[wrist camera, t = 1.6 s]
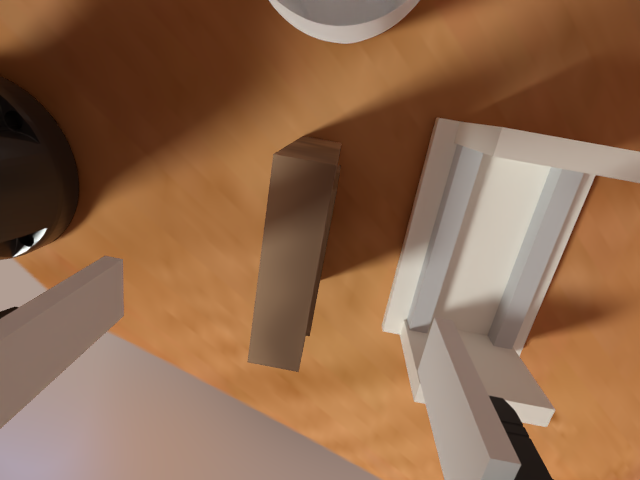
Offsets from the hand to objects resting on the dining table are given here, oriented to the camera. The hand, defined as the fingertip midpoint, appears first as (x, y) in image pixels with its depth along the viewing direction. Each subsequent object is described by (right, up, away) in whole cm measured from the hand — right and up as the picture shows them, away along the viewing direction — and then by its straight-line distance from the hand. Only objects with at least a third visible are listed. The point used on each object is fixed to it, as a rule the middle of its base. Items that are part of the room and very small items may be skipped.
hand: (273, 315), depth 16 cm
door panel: (+1, +5, +15) cm, 16 cm away
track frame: (+15, +3, +15) cm, 21 cm away
